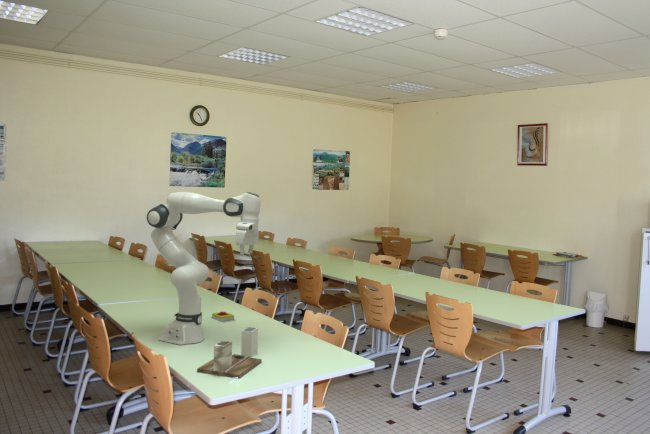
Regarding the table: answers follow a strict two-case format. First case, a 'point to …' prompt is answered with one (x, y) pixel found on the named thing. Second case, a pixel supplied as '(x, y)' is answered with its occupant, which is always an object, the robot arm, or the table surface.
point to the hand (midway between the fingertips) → (246, 253)
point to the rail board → (235, 370)
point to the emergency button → (223, 317)
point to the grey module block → (249, 342)
